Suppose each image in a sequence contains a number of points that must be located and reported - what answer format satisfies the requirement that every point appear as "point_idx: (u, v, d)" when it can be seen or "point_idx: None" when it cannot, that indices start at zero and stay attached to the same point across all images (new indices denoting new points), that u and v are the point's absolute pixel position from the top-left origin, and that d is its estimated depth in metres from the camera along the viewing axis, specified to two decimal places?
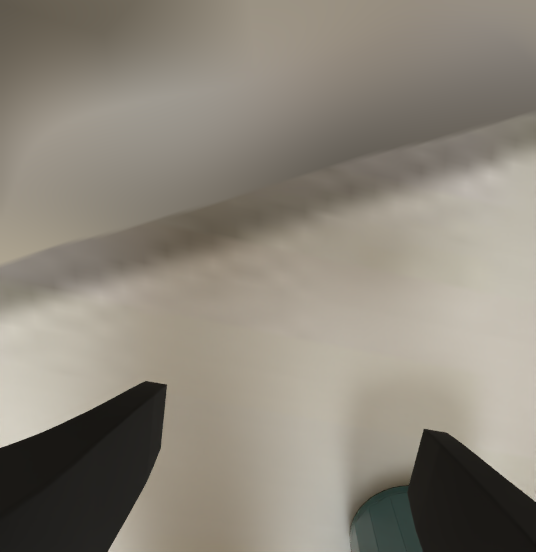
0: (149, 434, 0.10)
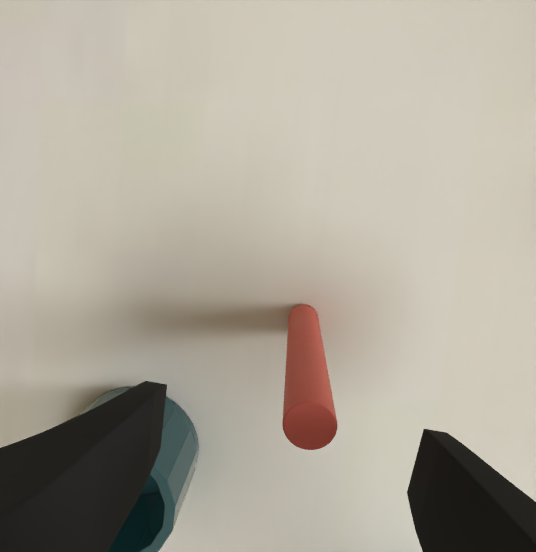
0: (149, 434, 0.10)
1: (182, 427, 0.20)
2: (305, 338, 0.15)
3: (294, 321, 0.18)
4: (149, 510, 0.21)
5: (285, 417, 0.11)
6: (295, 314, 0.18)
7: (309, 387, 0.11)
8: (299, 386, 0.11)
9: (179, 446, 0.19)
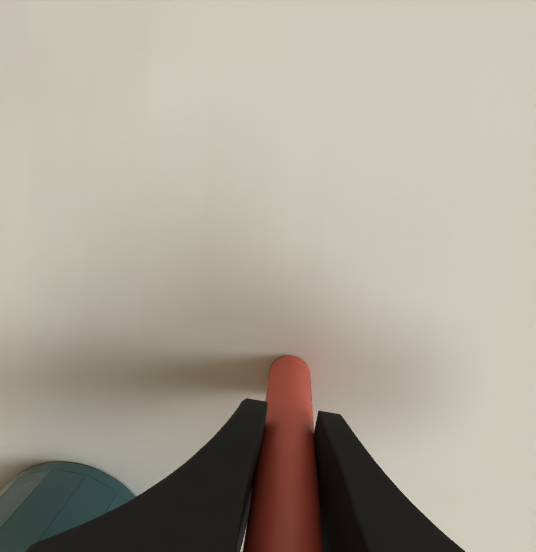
0: (259, 454, 0.10)
1: None
2: (286, 433, 0.10)
3: (274, 389, 0.12)
4: None
5: None
6: (277, 374, 0.13)
7: None
8: None
9: None
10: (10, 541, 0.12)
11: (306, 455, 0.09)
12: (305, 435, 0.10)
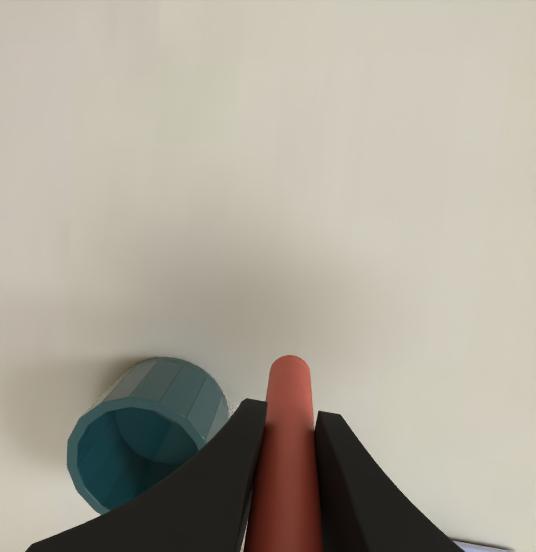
0: (259, 453, 0.10)
1: (214, 395, 0.21)
2: (286, 432, 0.10)
3: (274, 389, 0.12)
4: None
5: None
6: (277, 374, 0.13)
7: None
8: None
9: (213, 411, 0.20)
10: (148, 390, 0.18)
11: (306, 454, 0.09)
12: (305, 434, 0.10)
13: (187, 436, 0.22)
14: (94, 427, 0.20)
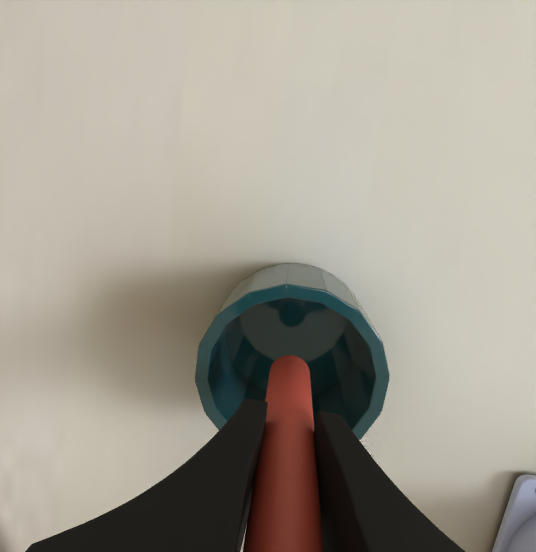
0: (259, 453, 0.10)
1: (360, 305, 0.17)
2: (286, 433, 0.10)
3: (274, 389, 0.12)
4: (315, 409, 0.17)
5: None
6: (277, 374, 0.13)
7: None
8: None
9: (368, 320, 0.16)
10: (303, 281, 0.14)
11: (306, 454, 0.09)
12: (305, 434, 0.10)
13: (315, 362, 0.18)
14: (219, 338, 0.16)
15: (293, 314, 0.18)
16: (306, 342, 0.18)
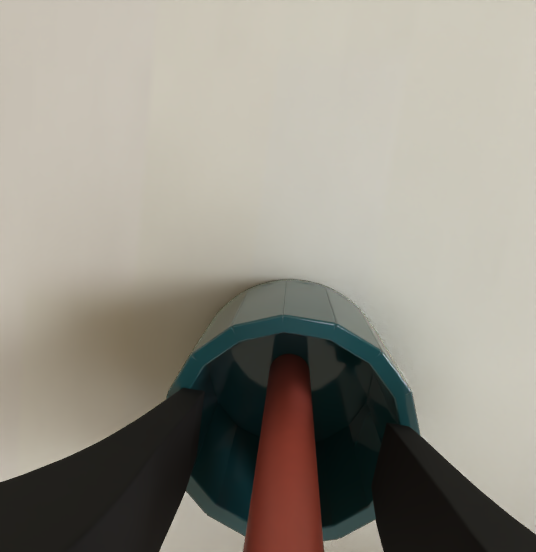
0: (190, 441, 0.10)
1: (376, 333, 0.13)
2: (286, 430, 0.10)
3: (274, 387, 0.12)
4: (320, 461, 0.14)
5: None
6: (277, 372, 0.13)
7: None
8: None
9: (389, 355, 0.12)
10: (305, 309, 0.11)
11: (306, 452, 0.09)
12: (305, 432, 0.10)
13: (320, 401, 0.15)
14: (197, 378, 0.12)
15: (292, 342, 0.14)
16: None
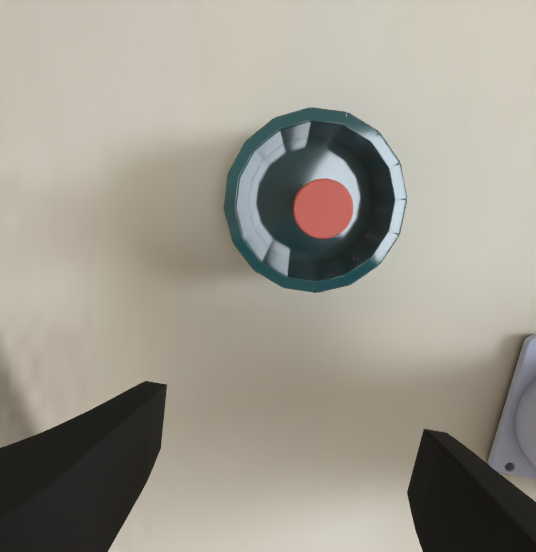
0: (149, 434, 0.10)
1: None
2: None
3: None
4: (334, 263, 0.18)
5: (296, 199, 0.10)
6: None
7: None
8: None
9: None
10: None
11: None
12: None
13: None
14: (244, 183, 0.17)
15: (312, 177, 0.19)
16: None
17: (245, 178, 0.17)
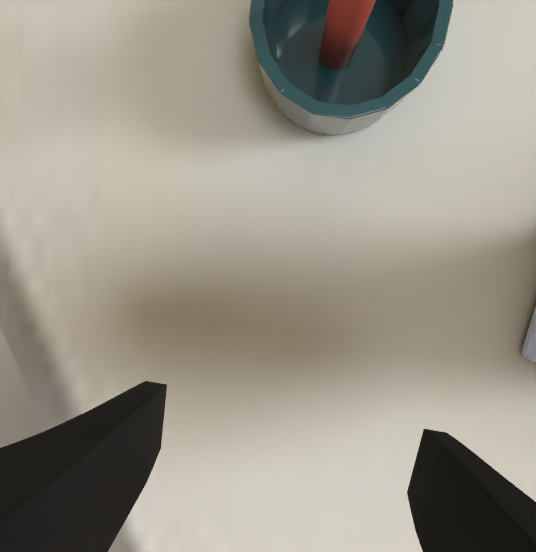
0: (149, 434, 0.10)
1: None
2: None
3: None
4: None
5: None
6: None
7: None
8: None
9: None
10: None
11: None
12: None
13: (362, 78, 0.18)
14: (269, 8, 0.15)
15: None
16: None
17: (271, 1, 0.15)
